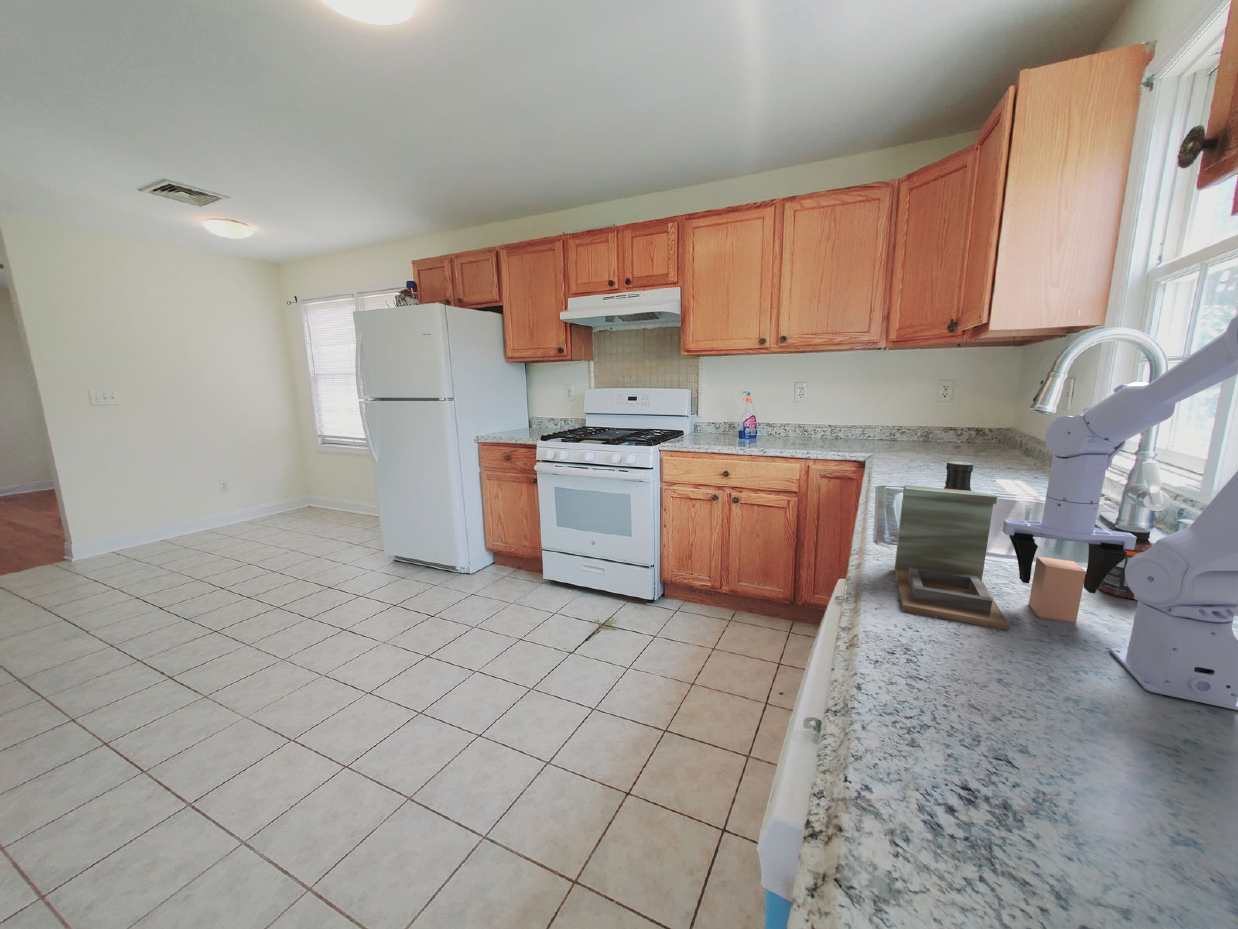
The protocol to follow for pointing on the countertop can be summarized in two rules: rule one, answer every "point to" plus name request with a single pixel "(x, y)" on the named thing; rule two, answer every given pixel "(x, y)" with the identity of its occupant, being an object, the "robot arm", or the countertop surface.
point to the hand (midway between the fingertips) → (1055, 585)
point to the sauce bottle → (958, 475)
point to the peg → (1057, 589)
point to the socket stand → (946, 555)
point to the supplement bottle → (1116, 577)
